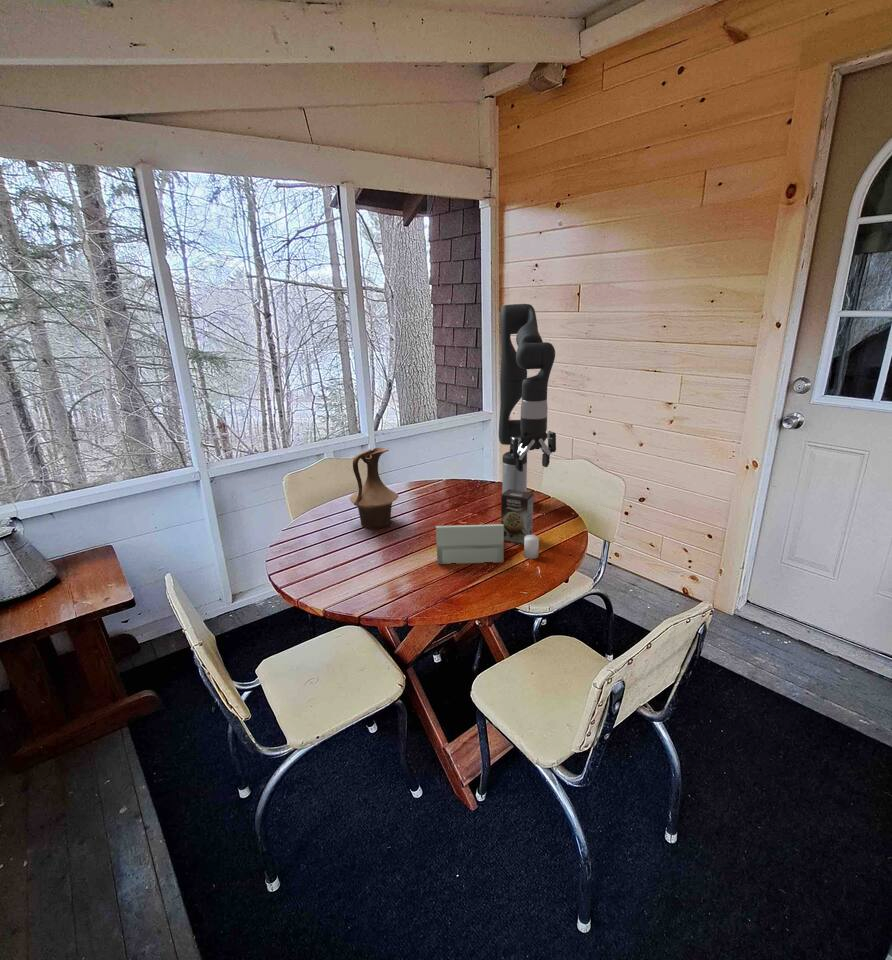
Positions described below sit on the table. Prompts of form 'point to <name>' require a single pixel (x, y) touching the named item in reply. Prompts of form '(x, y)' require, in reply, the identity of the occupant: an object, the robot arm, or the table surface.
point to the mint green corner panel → (470, 543)
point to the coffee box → (516, 515)
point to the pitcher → (372, 492)
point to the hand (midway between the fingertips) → (532, 468)
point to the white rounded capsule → (531, 546)
